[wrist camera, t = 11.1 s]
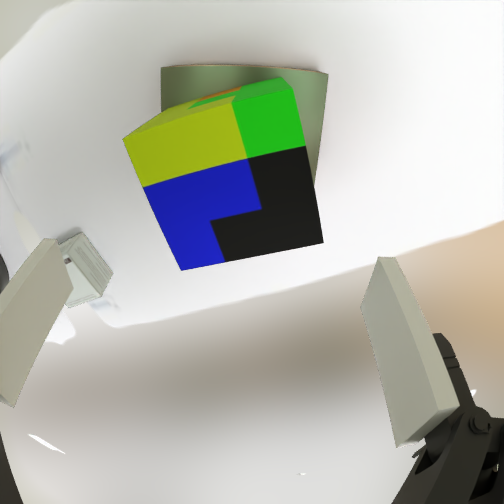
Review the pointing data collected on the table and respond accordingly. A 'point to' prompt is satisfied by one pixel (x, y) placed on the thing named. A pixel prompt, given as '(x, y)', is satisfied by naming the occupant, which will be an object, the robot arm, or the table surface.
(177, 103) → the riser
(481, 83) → the table surface
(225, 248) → the puzzle toy
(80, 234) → the small box
